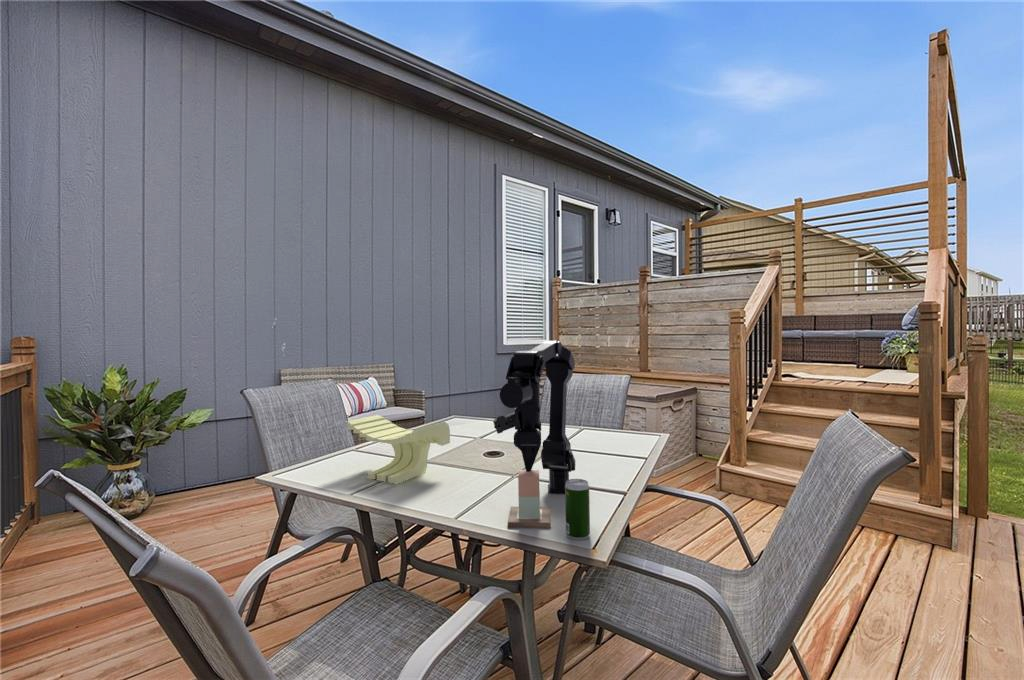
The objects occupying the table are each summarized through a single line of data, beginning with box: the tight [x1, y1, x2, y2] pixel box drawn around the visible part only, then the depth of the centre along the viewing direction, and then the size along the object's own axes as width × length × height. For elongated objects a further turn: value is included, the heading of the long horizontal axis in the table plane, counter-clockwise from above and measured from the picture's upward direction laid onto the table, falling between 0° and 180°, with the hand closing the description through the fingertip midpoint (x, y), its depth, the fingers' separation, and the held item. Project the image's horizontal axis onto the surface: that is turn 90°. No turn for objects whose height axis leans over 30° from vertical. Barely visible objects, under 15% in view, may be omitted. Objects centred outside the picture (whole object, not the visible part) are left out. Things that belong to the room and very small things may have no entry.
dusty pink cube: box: [517, 469, 540, 498], centre depth 112 cm, size 5×5×5 cm
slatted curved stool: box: [347, 414, 451, 485], centre depth 151 cm, size 30×16×18 cm, turn 60°
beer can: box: [564, 478, 591, 541], centre depth 102 cm, size 5×5×12 cm
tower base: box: [507, 506, 551, 529], centre depth 112 cm, size 10×10×1 cm
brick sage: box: [518, 489, 541, 518], centre depth 112 cm, size 5×5×5 cm
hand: (528, 466), depth 112 cm, fingers open, 9 cm apart
